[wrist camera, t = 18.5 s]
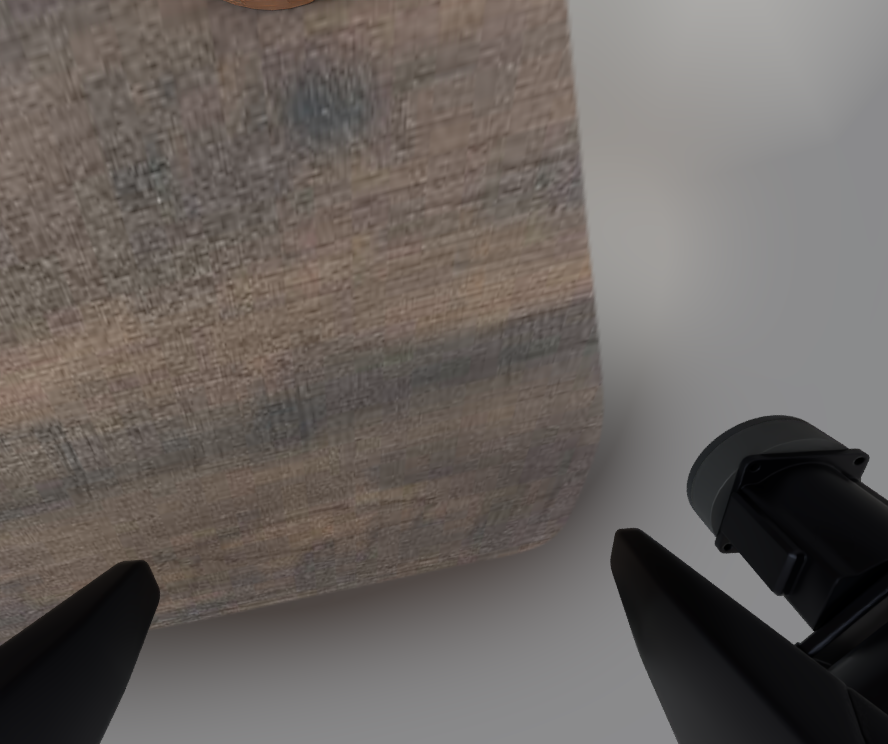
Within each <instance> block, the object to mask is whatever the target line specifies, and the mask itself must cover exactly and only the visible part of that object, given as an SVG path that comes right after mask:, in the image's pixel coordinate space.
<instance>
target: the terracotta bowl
mask: <svg viewBox="0 0 888 744" xmlns="http://www.w3.org/2000/svg"><path fill="white" fill-rule="evenodd" d="M224 1H227V2H229V3H232V4H235V5H238V6H243V7H248V8H252V9H262V10H280V9H289V8H294V7H297V6H301V5H304V4H308V3H310V2H312V1H314V0H224Z"/></svg>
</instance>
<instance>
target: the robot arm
mask: <svg viewBox="0 0 888 744" xmlns="http://www.w3.org/2000/svg"><path fill="white" fill-rule="evenodd" d="M868 461H869V455H868V454H866V453H865V452H863V451H861V450H860V449H841V450H824V451H807V452H790V453H773V454H755V455H748V456H746V457H745V458H743V459H742V461H741V462H740V465H739V468H738V471H737V474H736V477H735V481H734V484H733V487H732V490H731V493H730V496H729V499H728V503H727V506H726V509H725V512H724V515H723V518H722V521H721V525H720V528H719V531H718V534H717V537H716V540H715V546H716V547H717V548H718V550H719V551H720V552H722V553H740V554H741V555H742V556H743V558H744V559H745V560H746V561H747V562H748V563H749V565H750V566H751V567H752V568H753V569H754V571H755V572H756V573H757V574H758V575H759V576H760V578H761V579H762V580H763V581H764V582H765V584H766V585H767V586H768V587H769V588H770V590H771V591H772V592H774V593H775V594H776V595H777V596H784V597H785V598H786V599H787V601H788V602H789V603H790V604H791V605H792V606H793V607H794V608H795V610H796V611H797V612H798V613H799V614H800V616H801V617H802V618H803V619H804V620H805V621H806V622H807V624H808V625H809V626H810V627H811V628H812V629H813V631H814V632H813V633H812V634H811V635H810V636H808V637H807V638H806V639H805V640H804V641H802V642H801V643H799V642H797V643H796V644H795V645H793V644H792V643H791V642H789V641H788V640H787V639H786V638H784V637H783V636H782V635H780V634H779V633H777V632H776V631H775V630H774V629H772V628H771V627H770V626H768V625H767V624H766V623H764V622H763V621H762V620H760V619H759V618H758V617H756V616H755V615H753V614H752V613H751V612H750V611H748V610H747V609H746V608H744V607H743V606H742V605H740V604H739V603H738V602H736V601H735V600H734V599H732V598H731V597H730V596H728V595H727V594H726V593H724V592H723V591H722V590H720V589H719V588H718V587H716V586H715V585H714V584H712V583H711V582H710V581H708V580H707V579H706V578H704V577H703V576H702V575H700V574H699V573H698V572H696V571H695V570H694V569H692V568H691V567H690V566H688V565H687V564H686V563H684V562H683V561H682V560H681V559H679V558H678V557H676V556H675V555H674V554H672V553H671V552H670V551H669V550H667V549H666V548H665V547H663V546H662V545H661V544H659V543H658V542H657V541H655V540H654V539H653V538H651V537H650V536H649V535H647V534H646V533H644V532H643V531H642V530H640V529H638V528H627V529H619V530H617V531H616V533H615V537H614V542H613V548H612V553H611V559H610V560H611V561H610V562H611V570H612V573H613V576H614V579H615V582H616V585H617V589H618V591H619V594H620V598H621V600H622V604H623V607H624V610H625V612H626V616H627V619H628V622H629V625H630V628H631V631H632V634H633V637H634V640H635V643H636V646H637V648H638V652H639V654H640V657H641V659H642V661H643V664H644V666H645V669H646V671H647V673H648V676H649V678H650V680H651V682H652V685H653V687H654V689H655V691H656V694H657V696H658V698H659V701H660V703H661V705H662V707H663V710H664V712H665V714H666V716H667V719H668V721H669V723H670V725H671V728H672V730H673V732H674V734H675V737H676V739H677V741H678V744H888V500H886V499H885V498H884V497H882V496H881V495H879V494H878V493H876V492H875V491H873V490H872V489H871V488H869V487H868V486H866V485H865V484H863V483H862V482H861V481H859V480H860V478H861V476H862V474H863V472H864V470H865V468H866V466H867V463H868ZM159 599H160V589H159V586H158V584H157V582H156V580H155V578H154V575H153V573H152V571H151V569H150V566H149V564H148V563H147V562H146V561H144V560H133V561H123V562H120V563H118V564H116V565H114V566H113V567H112V568H110V569H109V570H107V571H106V572H105V573H103V574H102V575H100V576H99V577H97V578H96V579H95V580H93V581H92V582H90V583H89V584H88V585H86V586H85V587H83V588H82V589H80V590H79V591H78V592H76V593H75V594H73V595H72V596H70V597H69V598H68V599H66V600H65V601H63V602H62V603H61V604H59V605H58V606H56V607H55V608H53V609H52V610H51V611H49V612H48V613H46V614H45V615H44V616H42V617H41V618H39V619H38V620H36V621H35V622H34V623H32V624H31V625H29V626H28V627H27V628H25V629H24V630H22V631H21V632H19V633H18V634H17V635H15V636H14V637H12V638H11V639H10V640H8V641H7V642H5V643H4V644H2V645H1V646H0V744H100V742H101V740H102V738H103V736H104V734H105V732H106V730H107V727H108V725H109V723H110V721H111V719H112V717H113V715H114V713H115V711H116V709H117V707H118V704H119V702H120V700H121V698H122V696H123V694H124V691H125V689H126V686H127V684H128V682H129V679H130V677H131V674H132V672H133V669H134V666H135V664H136V661H137V658H138V656H139V653H140V650H141V648H142V645H143V643H144V640H145V637H146V635H147V632H148V630H149V627H150V624H151V622H152V619H153V616H154V614H155V611H156V609H157V606H158V603H159Z"/></svg>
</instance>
